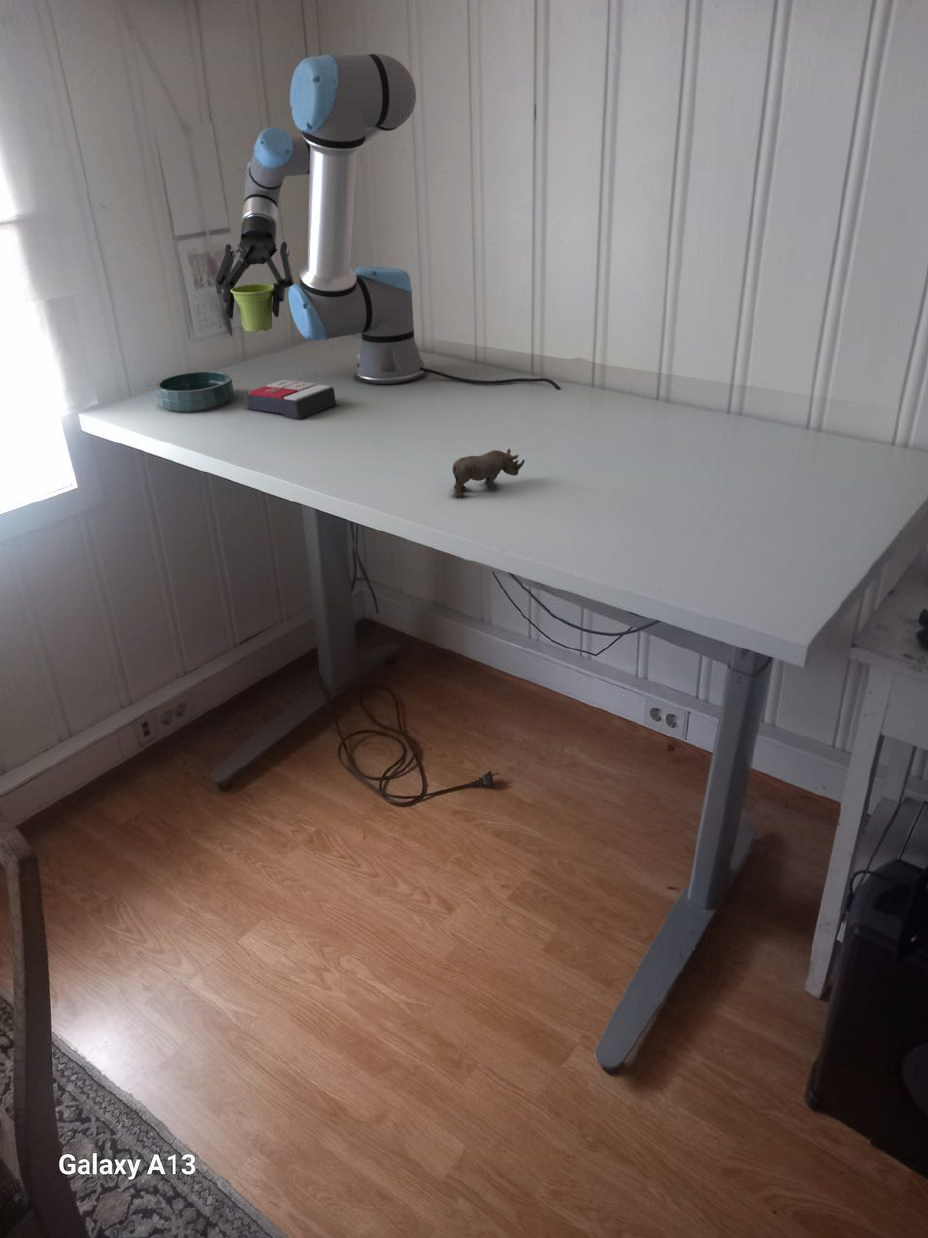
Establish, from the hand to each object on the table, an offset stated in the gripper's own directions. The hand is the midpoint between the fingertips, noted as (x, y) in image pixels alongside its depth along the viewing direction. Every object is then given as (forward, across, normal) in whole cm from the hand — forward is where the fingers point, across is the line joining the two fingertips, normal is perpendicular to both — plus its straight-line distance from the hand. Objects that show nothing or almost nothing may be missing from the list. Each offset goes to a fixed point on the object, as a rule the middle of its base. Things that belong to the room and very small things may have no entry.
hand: (252, 314), depth 207 cm
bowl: (+19, +11, -2) cm, 22 cm away
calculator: (+23, -10, +1) cm, 25 cm away
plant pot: (+1, 0, -5) cm, 5 cm away
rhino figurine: (+56, -53, +33) cm, 84 cm away
